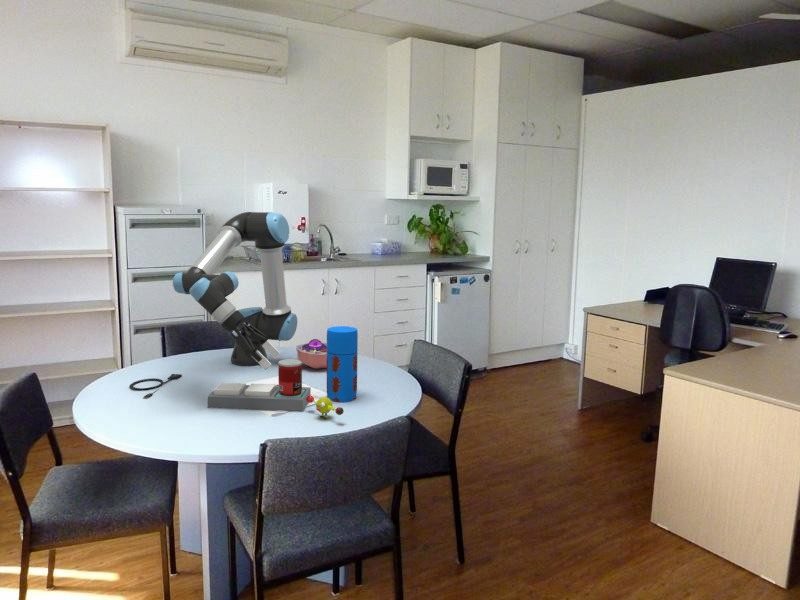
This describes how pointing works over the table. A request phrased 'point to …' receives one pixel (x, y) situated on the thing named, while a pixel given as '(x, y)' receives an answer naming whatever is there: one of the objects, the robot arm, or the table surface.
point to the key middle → (260, 390)
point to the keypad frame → (259, 401)
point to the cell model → (313, 354)
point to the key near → (230, 389)
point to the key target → (291, 396)
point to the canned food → (290, 377)
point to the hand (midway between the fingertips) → (273, 361)
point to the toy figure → (324, 406)
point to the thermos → (342, 363)
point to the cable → (172, 377)
